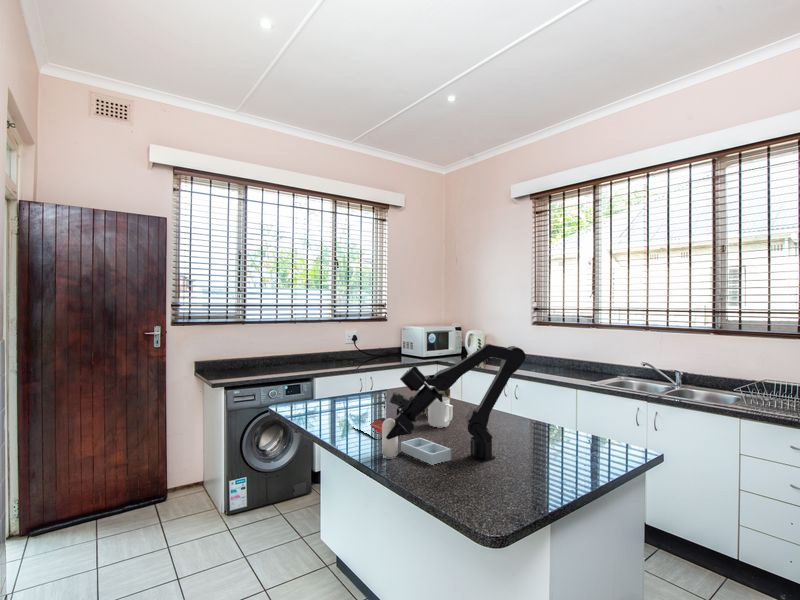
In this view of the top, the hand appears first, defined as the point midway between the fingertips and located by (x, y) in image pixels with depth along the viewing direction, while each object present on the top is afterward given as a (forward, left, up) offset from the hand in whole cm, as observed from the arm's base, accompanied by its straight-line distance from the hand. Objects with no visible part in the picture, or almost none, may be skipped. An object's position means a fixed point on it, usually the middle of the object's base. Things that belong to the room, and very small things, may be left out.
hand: (387, 434), depth 142 cm
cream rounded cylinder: (0, 0, -7) cm, 7 cm away
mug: (+15, -38, -8) cm, 42 cm away
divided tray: (-7, -10, -7) cm, 14 cm away
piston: (+29, -49, -8) cm, 58 cm away
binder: (+26, -15, -8) cm, 31 cm away
